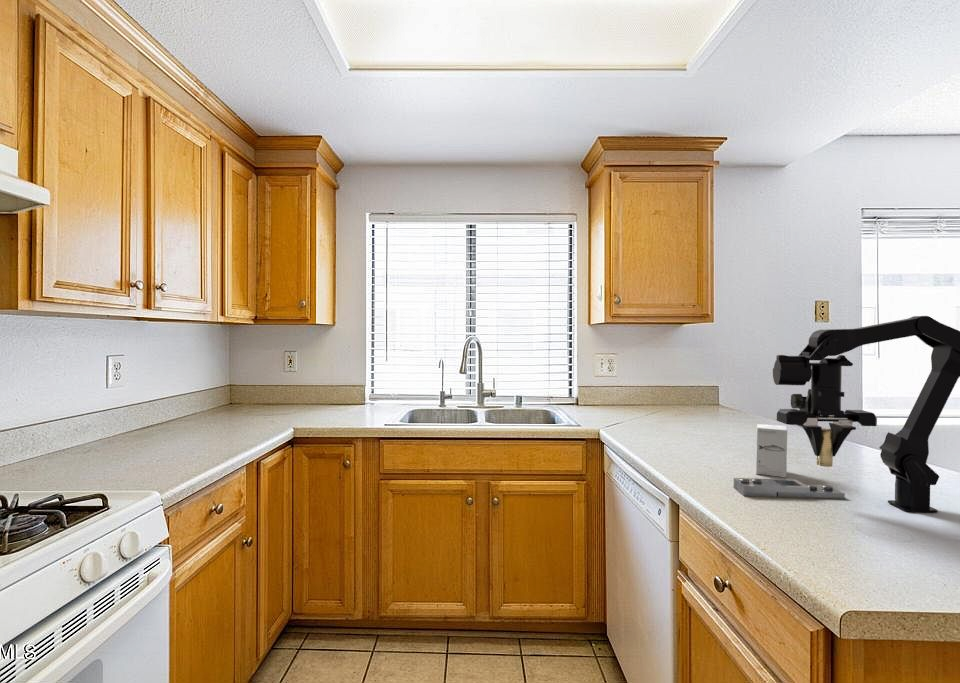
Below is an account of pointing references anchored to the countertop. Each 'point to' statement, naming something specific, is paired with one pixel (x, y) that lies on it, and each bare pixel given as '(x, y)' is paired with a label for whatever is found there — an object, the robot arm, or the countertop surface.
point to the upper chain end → (768, 486)
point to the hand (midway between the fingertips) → (824, 455)
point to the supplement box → (771, 450)
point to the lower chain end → (815, 493)
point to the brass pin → (826, 448)
